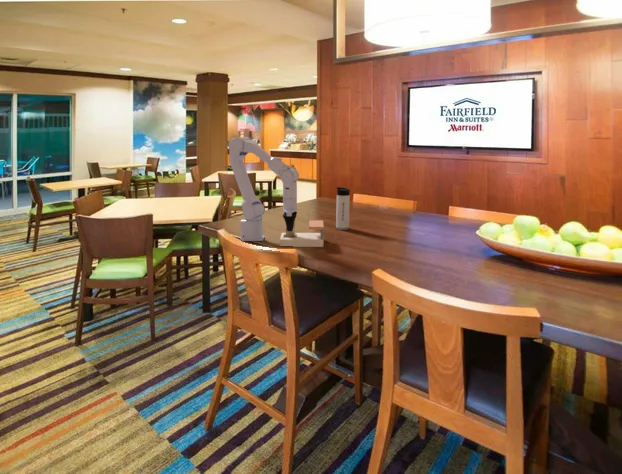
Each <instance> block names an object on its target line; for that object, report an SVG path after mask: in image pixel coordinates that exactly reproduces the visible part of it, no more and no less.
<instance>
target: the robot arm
mask: <svg viewBox="0 0 622 474" xmlns="http://www.w3.org/2000/svg"><path fill="white" fill-rule="evenodd" d="M227 146H228V150H229V151H228V152H229V153H228V157H229V158H228V159H229V163H230V166H231V169H232V172H233V174H234V177H235V181H236V184H237V186H238V189H239V191H240V193H241V197H242V203H241V207H242V211H241V212H242V217H243V218H244V219H241V220H240V227H239V228H240V241H241V240H242V242H263V241H264V238H265V235H264V234H263V215H264V214H265V211H266V209H265V206H264V204H263V203H262V202H261V199H260V198H259V197H257V196H256V194H255V191H254V189H253V185H252V183H251V180H250V177H249V175H248V170H247V168H246V165H245V163H244V160H245V157H246V156H247V155H248V154H249V153H250V154H251V153H252V154H253V155H255V156H256V157H258V158H259V159H260V160H262V161H263V162H265V163H266V164H267V168H268V169H269V170H270V171H271V172H273V173H274V174H276V175H277V176H278V177H279V178H280V180H281V182H282V207H283V208H282V211H283V214H282V217H283V220H284V221H285V228H286V227H287V231H293V225H294V220H295V221H296V218H297V214H298V211H300V210H301V209H300V208H301V207H298V186H297V185H298V182H297V181H298V180H299V177H300V173H299V171H298V170H297V169H296V168H294V167H291V165H289V164H287V163H286V162H284V161H283V160H282V158H281V157H277V156H272V155H271V154H269V153H268V152H267V151H266V150H265V149H263V148H262V146H260V145H259V144H258V143H257V141H255V140H254V139H252V138H251V137H250V136H235V137H232V138H231V139H230V141H229V143H228V145H227Z"/></svg>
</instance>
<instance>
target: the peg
mask: <svg viewBox="0 0 622 474" xmlns="http://www.w3.org/2000/svg"><path fill="white" fill-rule="evenodd" d="M285 233H286V237H287V238H294V237H295V233H296V219H295V220H294V225H293V231H287V227H286V226H285Z"/></svg>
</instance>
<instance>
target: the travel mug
mask: <svg viewBox="0 0 622 474" xmlns="http://www.w3.org/2000/svg"><path fill="white" fill-rule="evenodd" d="M350 192H351V190H350V188H346V187H340V186H338V187H336V206H335V209H336V210H335V211H336V213H335V216H336V217H335V220H336V221H335V230H338V231H339V230H340V231H347V230H349V229H350V201H351V200H350V199H351V196H350V195H351V194H350Z"/></svg>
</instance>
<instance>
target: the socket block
mask: <svg viewBox="0 0 622 474" xmlns="http://www.w3.org/2000/svg"><path fill="white" fill-rule="evenodd" d="M324 227H325V226H324V220H321V219H319V220H318V219H317V220H311V219H309V222H308V230H319V232H295V237H294V238H287V237H286V232H281V233H280V237H279V247H280V246H293V248H294V247H295V248H296V247H299V248H301V247H306V248H307V247H308V248H310V247H311V248H314V247H315V248H324V229H325V228H324Z"/></svg>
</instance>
